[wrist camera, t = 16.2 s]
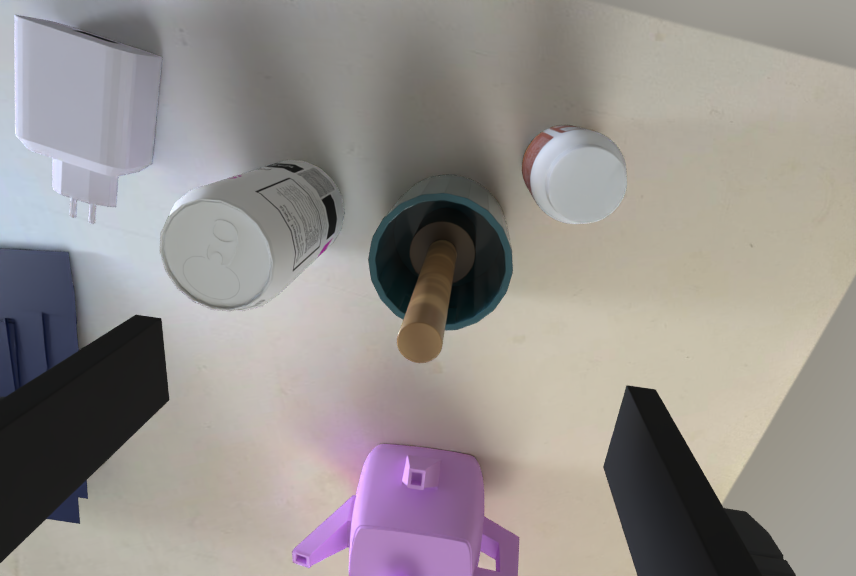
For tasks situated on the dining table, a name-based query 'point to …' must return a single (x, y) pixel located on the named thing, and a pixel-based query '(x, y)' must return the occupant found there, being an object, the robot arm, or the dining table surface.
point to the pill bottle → (575, 174)
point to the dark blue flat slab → (37, 328)
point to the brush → (435, 280)
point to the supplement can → (250, 234)
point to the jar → (491, 257)
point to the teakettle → (414, 519)
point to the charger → (84, 107)
